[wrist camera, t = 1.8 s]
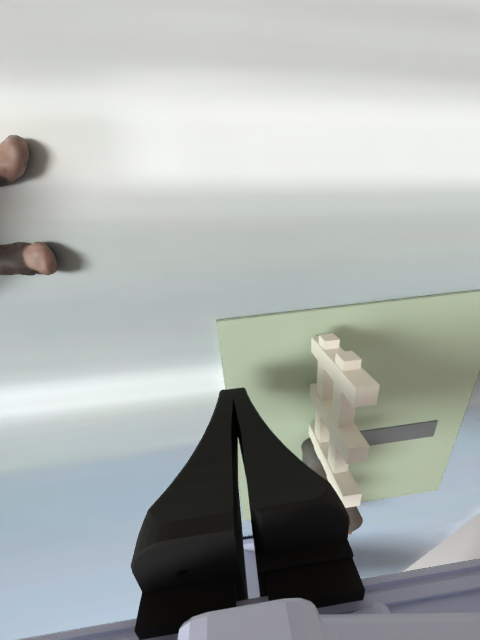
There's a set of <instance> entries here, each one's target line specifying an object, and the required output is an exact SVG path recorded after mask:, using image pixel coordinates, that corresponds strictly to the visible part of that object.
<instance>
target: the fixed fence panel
mask: <svg viewBox="0 0 480 640" xmlns="http://www.w3.org/2000/svg"><path fill="white" fill-rule="evenodd" d="M301 449H302V452H303V454H304V457H305V460H306V462H307V465H308V467H310V468H311V469H312V470H313V471H315V472H316V473H317V474H319V475H320V476H321V477H323V478H324V479H326V480H327V481H328V479H327V475H326V472H325V470H324V468H323V465H322V463H321V461H320V459H318V457H317V454H316V452H315V450H314V445H313V443H312V441H311V438H308V439H306V440H305V441H304V442H303V443H302V445H301ZM346 510H347V513H348V515H349V518H350V525H349V532H348V534H351V533H352V531H354V530H356V529H358V528H359V527H360V526H361V524H362V522H363V519H362V517H361V515H360V513H359V511H358V509H357V507H356V506H355V507H348V508H346Z"/></svg>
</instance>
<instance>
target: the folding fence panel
mask: <svg viewBox="0 0 480 640" xmlns="http://www.w3.org/2000/svg"><path fill="white" fill-rule="evenodd" d="M339 344H340V339H339V338H338V337H337V336H335V335H334V334H333V333H330V334H322V335H319V336H315V337H311V352H312V354H313V355H314V356H315V357H316V359H317V360H318V367H317V383H313V384H310V398H311V399H312V401H313V403H314V405H315V407H316V415H315V423H310V424H309V436H310V438H311V441H312V443H313V445H314V450H315V452H316V454H317V457H318V459H320V461H321V463H322V465H323V468H324V470H325V472H326V475H327V479H328V482H330V484H331V485H332V487H333V488H334V490H335V491H336V493H337V494H338V496H339V498H340V499H341V501H342V503H343V504H344V506H345V508H348V507H355V506H360V502H361V496H362V493H361V491H360V489H359V487H358V485H357V484H356V482H355V480H354V478H353V476H352V474H351V473H350V471H349V469H348V466H349V464H350V463H356V462H363V461H367V459H368V453H369V447H370V445H369V444H368V443H367V441H366V440H365V438H364V437H363V435H362V434H361V432H360V431H359V430H358V428H357V427H356V425H355V424H354V418H355V410H356V407H362V406H370V405H377V399H378V393H379V387H380V385H379V384H378V383H377V382H376V381H375V380H374V379H373V378H372V377H371V376H370V375H369V374H368V373H367V372H366V371H365V370H364V369H363V368H362V367H361V361H362V359H361V358H360V357H359V356H357V355H356V354H355V353H354V352H353V351H344V350H343V349H342V348H341V347H340V346H339Z"/></svg>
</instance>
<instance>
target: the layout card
mask: <svg viewBox="0 0 480 640" xmlns="http://www.w3.org/2000/svg"><path fill="white" fill-rule="evenodd" d="M216 324H217V331H218V338H219V346H220V353H221V360H222V368H223V375H224V382H225V390H227V389H235V388H243V387H244V388H245V389H246V391H247V394H248V396H249V398H250V400H251V402H252V404H253V405H254V407H255V409H256V410H257V412H258V413H259V415H260V416H261V418H262V419H263V420H264V422H265V423H266V424H267V426H268V427H269V428H270V429H271V431H272V432H273V433H274V434H275V435H276V436H277V438H278V439H279V440H280V441H281V442H282V443H283V444H284V445H285V446H286V447H287V448H288V449H289V450H290V451H291V452H292V453H293V454H295V455H296V456H297V457H298V458H299V459H300V460H301V461H302V462H304V463H305V464H306V465H307V462H306V460H305V457H304V454H303V452H302V449H301V445H302V443H303V442H304V441H305V440H306V439H308V438H310V436H309V424H310V423H315V415H316V407H315V405H314V403H313V401H312V399H311V398H310V384H313V383H317V367H318V360H317V359H316V357H315V356H314V355H313V354H312V352H311V337H315V336H319V335H322V334H330V333H333V334H334V335H335V336H337V337H338V338H339V339H340V344H339V346H340V347H341V348H342V349H343V350H344V351H353V352H354V353H355V354H356V355H357V356H359V357H360V358H361V359H362V361H361V367H362V368H363V369H364V370H365V371H366V372H367V373H368V374H369V375H370V376H371V377H372V378H373V379H374V380H375V381H376V382H377V383H378V384H379V385H380V387H379V393H378V399H377V405H370V406H362V407H356V410H355V418H354V424H355V425H356V427H357V428H358V430H359V431H360V432H361V434H362V435H363V437H364V438H365V440H366V441H367V443H368V444H369V445H370V447H369V453H368V459H367V461H363V462H356V463H350V464H349V466H348V469H349V471H350V473H351V474H352V476H353V478H354V480H355V482H356V484H357V485H358V487H359V489H360V491H361V493H362V496H361V502H366V501H372V500H378V499H384V498H391V497H397V496H403V495H410V494H416V493H422V492H429V491H435V490H438V488H439V486H440V483H441V480H442V477H443V474H444V471H445V468H446V466H447V463H448V460H449V457H450V454H451V451H452V448H453V446H454V443H455V440H456V437H457V434H458V431H459V428H460V426H461V423H462V420H463V417H464V414H465V411H466V408H467V406H468V403H469V400H470V397H471V394H472V391H473V388H474V386H475V383H476V380H477V377H478V374H479V371H480V290H473V291H464V292H455V293H447V294H438V295H429V296H421V297H412V298H403V299H394V300H386V301H377V302H368V303H360V304H351V305H342V306H333V307H325V308H316V309H307V310H299V311H290V312H281V313H272V314H264V315H255V316H246V317H238V318H229V319H220V320H216ZM307 466H308V465H307ZM238 484H239V492H240V499H241V506H242V514H243V521H246V520H251V514H250V506H249V497H248V488H247V481H246V475H245V470H244V465H243V460H242V455H241V450H240V444H239V439H238Z"/></svg>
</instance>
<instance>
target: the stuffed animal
mask: <svg viewBox="0 0 480 640" xmlns="http://www.w3.org/2000/svg"><path fill="white" fill-rule="evenodd" d="M28 161H29V148H28V144H27V142H26V141H25V140H24V139H23V138H22V137H20V136H17V135H10V136H8V137H7V138H6V139H5V140H4V141H3V142H2V143H1V144H0V186H3V185H6V184H8V183H12V182H14V181H15V180H17V179H18V178H20V177H21V176H22V175H23V174H24V172H25V170H26V168H27V165H28ZM56 270H57V261H56V257H55V255H54V253H53V252H52V250H51V249H50V248H49V247H48V246H47V245H46V244H45V243H42V242H36V243H34V244H29V243H23V242H18V243H13V244H8V245H0V275H14V274H22V275H35V274H37V273H38V272H40V273H42V274H45V275H50V274H53V273H55V272H56Z"/></svg>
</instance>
